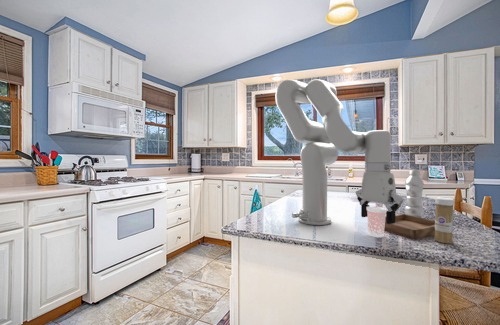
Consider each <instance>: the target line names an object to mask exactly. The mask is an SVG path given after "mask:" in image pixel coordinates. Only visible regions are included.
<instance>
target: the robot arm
mask: <svg viewBox="0 0 500 325" xmlns="http://www.w3.org/2000/svg"><path fill="white" fill-rule="evenodd" d="M337 93H338V92H337V88H336V86H334V85H333V84H332V83H330V82H328V81H326V80H323V79H318V78H317V79H316V78H315V79H312V80H310V81H309V82H308V83H305V82H303V81H299V80H296V79H293V78H292V79H290V78H289V79H284V80H282V81H281V82H280V83H279V84H278V85H277V86H276V91H275V104H276V106H277V109H278V110H279V113H281V116H282V117H283V119H284V120H285V124H286V125H287V127H288V129H289V131H290V132H291V135H292V136H293V138H294V141H296V142H297V143H301V144H304V145H303V146H302V148H301V150H300V162H301V163H300V164H301V168H302V171H301V172H302V206H301V207H302V208H301V209H300V210H299V211H298V212H292V213H291V217H292V219H295V218H296V219H298V221H299V222H300V223H303V224H306V225H309V226H310V225H311V226H325V225H329V224H331V223H332V219H331V217H330V216H329V217H328V172H327V168H326V166H330V165H333V164H334V163H335V162H336V161H337V160H338V157H339V151H340V152H341V153H344V154H362V153H364V171H363V174H362V181H361V189H358V190H356V191H355V195H356V197H357V200H358V202H359V205H360V208H361V210H360V211H361V212H360V214H361V215H360V216H361V218H368V216H367V210H366V209H367V208H366V207H369V206H370V203H374V204H376V203H377V204H380V205H384V206H385V208H386V209H387V212H386V223H387V224H393V223H395V215H396V211H398V210H399V209H400V208H401V206H402V204H403V202H404V200H405V199H404V198H403V197H402V196H401V195H399V194H398V193H397V190H396V180H395V176H394V173H393V172H391V171H392V170H393V169H394V165H392V164H391V155H392V154H391V148H392V147H391V145H392V144H391V140H392V139H391V133H390V131H389V130H387V129H378V130H377V129H376V130H374V129H373V130H369V131H367V132H360V131H354V130H351V129H350V127H349V126H348V124H347V123H346V122H345V120H344V119H343V117H342V115H341V114H342V112H343V110H344V105H343V104H342V103H341V101H340V100H339V99H338V97H337V95H338V94H337ZM300 104H308V105H309V104H310V105H312V107H314V109H315V110H316V112H317V113H318V114H319V116H320V117H321V119H322V123H320V122H317V121H314V120H313V121H312V120H310V119H309V118H308V116H307V115H306V113H305V112H304V110H303V108H302V106H300Z"/></svg>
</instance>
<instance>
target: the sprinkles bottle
mask: <svg viewBox="0 0 500 325" xmlns="http://www.w3.org/2000/svg"><path fill="white" fill-rule="evenodd" d="M434 201H435V218H434V221H435V235H434V238H433V239H434V241H436V242H438V243H443V244H453V232H454V207H455V199H454V198H452V197H442V196H437V197H435V200H434Z"/></svg>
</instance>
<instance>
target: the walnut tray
mask: <svg viewBox="0 0 500 325" xmlns="http://www.w3.org/2000/svg"><path fill="white" fill-rule="evenodd" d="M385 231H386V232H388V233H391V234H395V235H396V236H401V237H404V238H407V239H411V240H413V241H414V240H419V239H424V238H428V237H435V219H434V220H433V219H428V218H423V217H416V216H412V215H407V214H405V213H398V214H395V223H393V224H387V223H386V217H385V228H384V232H385Z"/></svg>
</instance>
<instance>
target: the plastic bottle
mask: <svg viewBox="0 0 500 325" xmlns="http://www.w3.org/2000/svg"><path fill="white" fill-rule="evenodd" d="M408 175H409V176H408V177H407V178H406V179H405V182H404V185H405V191H406V194H405V195H406V201H405V206H404V214H407V215H412V216H416V217H421V218H423V216H424V208H423V190H424V187H425V186H424V181H423V179H422V178H421V177H420V175H421V170H420V169H419V170H417V169H410V170H409V173H408Z"/></svg>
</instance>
